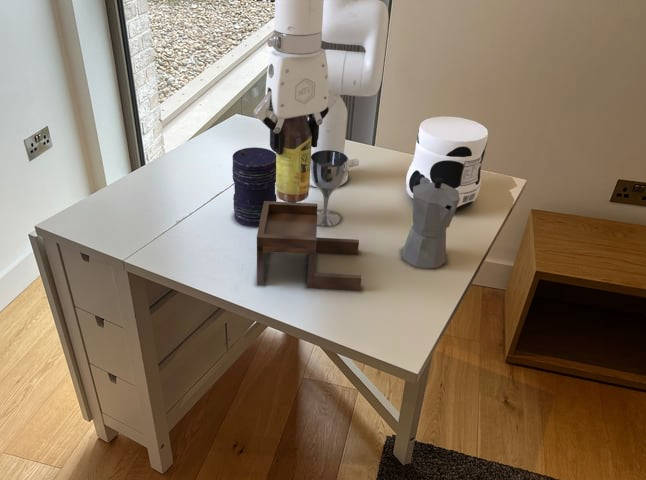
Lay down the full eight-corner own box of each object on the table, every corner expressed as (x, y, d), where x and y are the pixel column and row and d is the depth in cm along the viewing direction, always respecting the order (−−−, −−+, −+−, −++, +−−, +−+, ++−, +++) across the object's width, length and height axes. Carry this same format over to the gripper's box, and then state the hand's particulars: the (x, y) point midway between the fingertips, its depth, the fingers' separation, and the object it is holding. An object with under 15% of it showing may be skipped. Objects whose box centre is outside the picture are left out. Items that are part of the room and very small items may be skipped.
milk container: (409, 178, 152) (421, 110, 142) (478, 189, 148) (495, 120, 137) (397, 209, 139) (409, 136, 129) (472, 222, 135) (491, 148, 124)
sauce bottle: (306, 205, 107) (310, 97, 95) (272, 202, 108) (273, 94, 96) (311, 189, 112) (316, 84, 100) (279, 186, 113) (280, 82, 101)
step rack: (357, 251, 124) (362, 205, 118) (359, 290, 113) (365, 242, 107) (263, 246, 126) (263, 200, 119) (257, 285, 115) (256, 237, 108)
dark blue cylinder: (283, 211, 138) (284, 152, 129) (265, 231, 131) (265, 169, 122) (245, 203, 141) (244, 144, 132) (226, 221, 134) (223, 160, 125)
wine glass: (345, 213, 138) (351, 153, 129) (337, 229, 132) (342, 168, 123) (312, 207, 140) (316, 148, 131) (303, 223, 134) (306, 162, 125)
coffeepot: (458, 271, 119) (478, 192, 108) (415, 277, 117) (431, 197, 106) (426, 233, 131) (440, 157, 120) (386, 237, 129) (397, 161, 118)
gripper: (260, 54, 88) (260, 165, 98) (356, 41, 94) (346, 147, 105) (238, 42, 93) (241, 149, 104) (330, 31, 100) (324, 132, 110)
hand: (294, 147), depth 104 cm, fingers closed on sauce bottle, 6 cm apart
